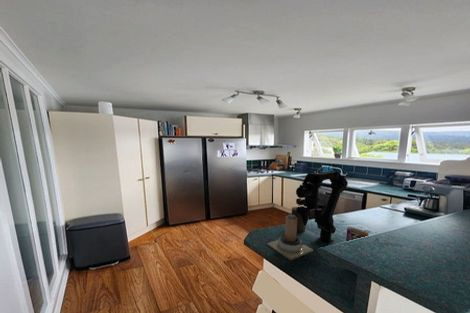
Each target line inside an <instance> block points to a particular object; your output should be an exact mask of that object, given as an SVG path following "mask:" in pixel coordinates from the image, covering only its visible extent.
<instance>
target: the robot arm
mask: <svg viewBox="0 0 470 313" xmlns="http://www.w3.org/2000/svg"><path fill="white" fill-rule="evenodd" d="M327 180H328V181H329V182H330V189H331V192H330V194H329V197H328V199H327V202H326V204H325V203H324V204H323V203H320V202H318V201H320V198H319V189H321V188H322V186H321V184H322V183H323V182H324V181H327ZM348 183H349V182H348V180H347V178H346V177H344V176H343V175H342V174H341V173H340V172H339V171H338V170H328V171H323V172H319V173H318V172H317V173H316V172H308V173H307V174H306V176H305V177H304V179H303V181H302V183H301V184H299V187H297V188H296V189H295V194H296V196H297V197H298V198H296V199H295V204H296V205H298V206H296V207H297V208H296V212H298V213H299V214H300V215H301V217H302V220H303V223H304V225H305V226H307V224H308V220H309V218H310V215H311V212H312V211H313V212H314V223H316V225H317V229H318V230H320V234H319V237H317V240H319V241H321V242H323V243H324V244H330V243H332V242H334V240H333V239H332V234H333V235H334V234H335V233H336V230H337V229H336V227H335V225H334V216H333V215H334V213H335V211H336V207H337V203H338V201H339V198H340V196H341V193H343V192H344V191H345V190H346V189H347V187H348V185H349V184H348Z"/></svg>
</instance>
